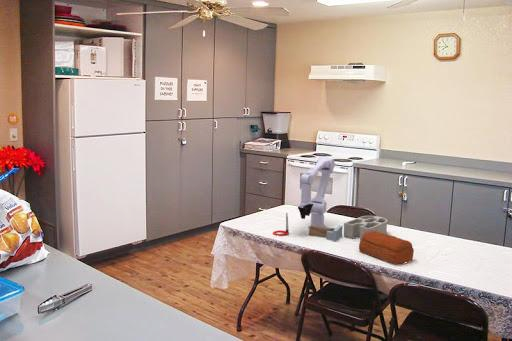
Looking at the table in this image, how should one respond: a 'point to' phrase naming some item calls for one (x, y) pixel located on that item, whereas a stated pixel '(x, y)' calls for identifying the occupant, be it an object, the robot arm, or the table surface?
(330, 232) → the grey block
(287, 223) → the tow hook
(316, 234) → the brown wooden block
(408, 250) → the bread
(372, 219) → the grey hollow block
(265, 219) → the table surface
